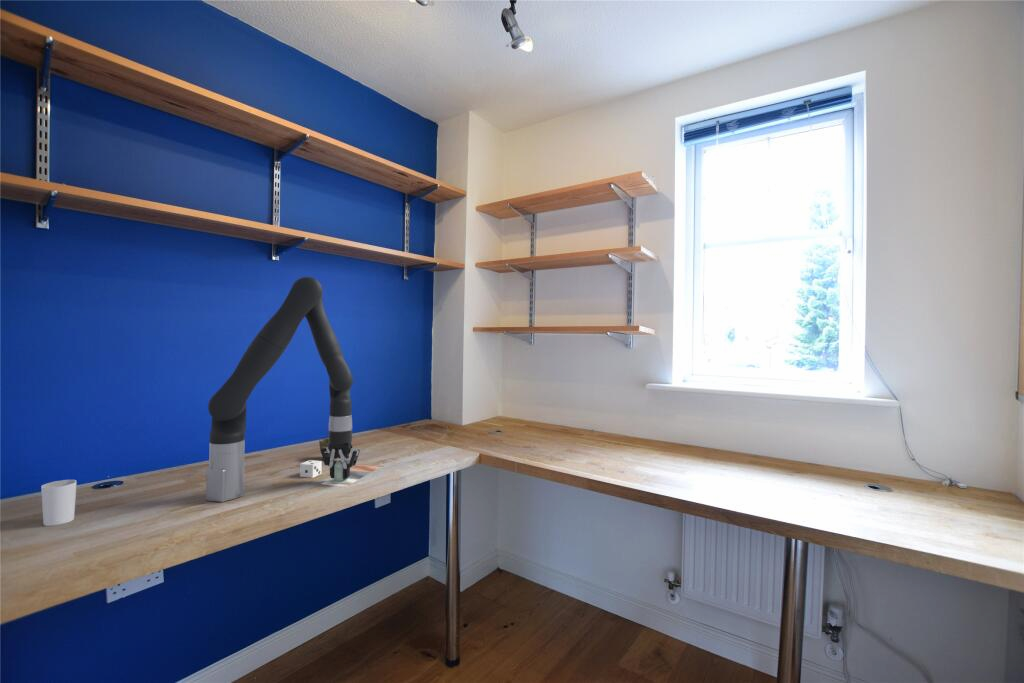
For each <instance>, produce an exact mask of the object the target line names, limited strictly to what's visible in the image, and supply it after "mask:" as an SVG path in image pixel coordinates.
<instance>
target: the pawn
mask: <svg viewBox="0 0 1024 683" xmlns="http://www.w3.org/2000/svg"><path fill="white" fill-rule="evenodd" d="M343 469H344V466H343V463H342V462H341V459H338V460H337V462H336V463H335V467H334V479H333V480H332V484H344V483H346V482H348V479H349V478H348V479H346V480H344V479H343Z"/></svg>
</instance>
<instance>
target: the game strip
mask: <svg viewBox="0 0 1024 683" xmlns="http://www.w3.org/2000/svg"><path fill="white" fill-rule="evenodd" d="M381 467H383V468H385V467H384V466H383V465H381V466H380V465H374V464H373V465H370V464H360V463H356V464H355V466H352V467H351V468H350V476H349V477H348V482H346V483H344V484H332V480H333V479H334V478H331V477H330V479H327V480H326V481H323V482H321V485H325V486H334V487H345V488H347V487H349V486H350V485H352V484H353V483H355V482H357V481H359V480H361V479H362V478H364V477H365V476H367V475H369V474H370V473H373V472H374V471H376V470H377V469H380V468H381Z"/></svg>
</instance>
